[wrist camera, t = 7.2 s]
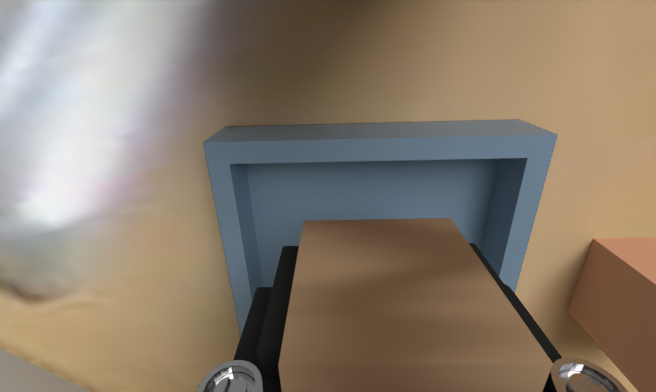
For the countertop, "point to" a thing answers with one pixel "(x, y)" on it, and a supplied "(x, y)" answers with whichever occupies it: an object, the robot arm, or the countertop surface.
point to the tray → (374, 186)
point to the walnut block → (401, 314)
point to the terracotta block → (621, 305)
